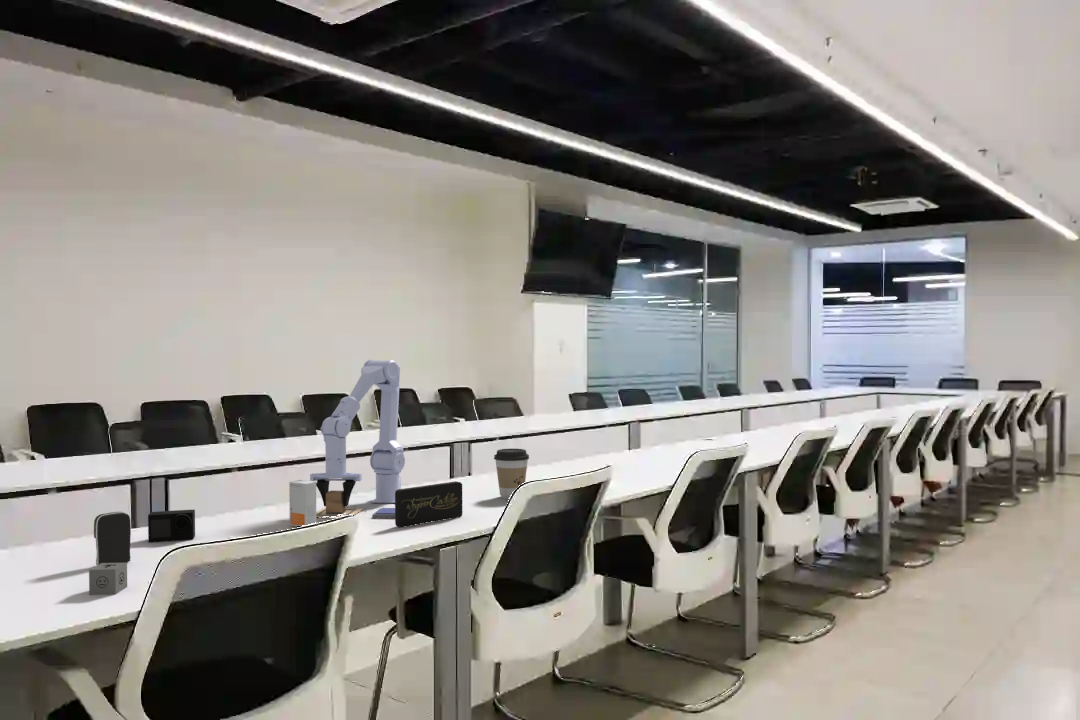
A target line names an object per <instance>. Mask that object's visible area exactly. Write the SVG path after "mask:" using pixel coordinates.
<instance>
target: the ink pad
mask: <svg viewBox="0 0 1080 720" xmlns="http://www.w3.org/2000/svg"><path fill="white" fill-rule="evenodd" d="M371 517H372V519H395V507H381V508H379V509H377V511H375V512H374V513H372V515H371Z"/></svg>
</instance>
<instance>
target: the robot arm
mask: <svg viewBox="0 0 1080 720" xmlns="http://www.w3.org/2000/svg"><path fill="white" fill-rule="evenodd" d="M360 373H361V374H360V376H359V378H358V380H357V382H356V384H355V385H354V388H353V389H352V390H351V392H350V394H349V395H348V396H344V397H343V398H341V399H340V401H339V403H338V405H337V407H336V408H335V410H334V411H333V413H332V414H331V415H330V416H329V417H326V418H325V419H324V420H323V421H322V424H321V426H320V432H321V434H322V436H323V441H324V445H325V472H317V473H310V474H309V478H310V479H309V481H316V489H318V491H319V494H320V496H321V499H322V503H323V507H326V493H327V492H329V491H330V481H332V482H333V481H335V482H337V481H340V482H341V481H342V487H343V488H342V489H343V490H342V491H344V507H346V508H347V507H348V506H349V504H350V503H349V502H350V498H351V495H352V492H353V489H354V488H355V485H356V484H357V483H356V482H361V481H362V479H363V478H362V477H363V476H362V473H355V472H347V436H348V435H349V434H350V432H351V428H352V427H351V426H352V423H353V420H354V418H355V417H356V415H357V413H358V412H359V411H360V409H361V401H362V400H363V398H364V397H365V396H366V394H367V393H368V392H369V390H370V389H372V387H373V386H374V385H375V386H376V387H377V388H378V389H380V392H381V395H380V397H381V398H380V415H379V431H378V432H379V435H378V436H379V437H378V442H377V443H375V444H374V445H373V446H372V452H371V455H370V458H369V463H370V464H369V465H370V467H371V469H372V470H373V473H375V499H373V500H372V501H371V503H372V504H378V503H379V504H395V492H396V490H398V489H402V477H401V475H400V473H402V470H403V469H404V467H405V464H406V458H405V454H404V446H402V445H401V444H400V443H399V442H398V441H397V439H398V421H399V420H398V419H399V401H400V379H401V378H400V374H401V367H400V366H399V364H398V363H397V362H396V361H395V360H394V359H388V360H383V359H382V360H378V359H377V360H374V359H368V360H366V361H365V362H364V364H363V366H362V367H361V371H360Z"/></svg>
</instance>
